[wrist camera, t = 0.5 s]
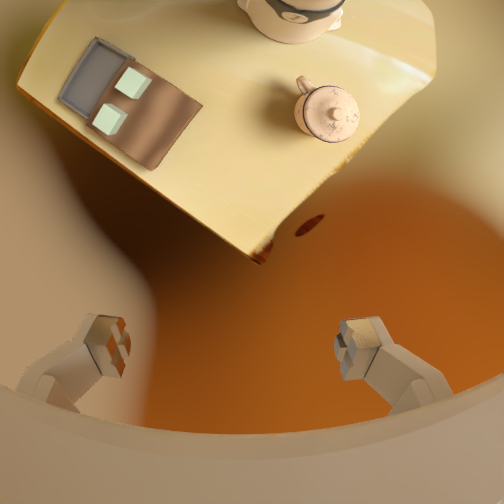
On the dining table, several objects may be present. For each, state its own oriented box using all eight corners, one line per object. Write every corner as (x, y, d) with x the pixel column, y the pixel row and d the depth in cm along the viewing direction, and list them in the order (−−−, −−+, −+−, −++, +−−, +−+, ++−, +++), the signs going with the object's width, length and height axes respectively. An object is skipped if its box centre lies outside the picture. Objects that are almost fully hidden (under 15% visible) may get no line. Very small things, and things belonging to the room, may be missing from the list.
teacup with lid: (349, 121, 45) (378, 125, 35) (311, 147, 47) (331, 156, 37) (313, 68, 40) (333, 56, 30) (272, 94, 42) (281, 87, 32)
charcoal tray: (136, 58, 37) (131, 56, 35) (95, 120, 42) (88, 121, 40) (101, 39, 34) (95, 36, 32) (63, 98, 39) (56, 98, 37)
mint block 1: (127, 114, 39) (121, 115, 36) (115, 133, 40) (108, 135, 38) (111, 103, 38) (104, 103, 35) (99, 122, 39) (91, 123, 36)
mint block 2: (152, 79, 37) (146, 77, 34) (138, 99, 38) (131, 98, 35) (135, 69, 35) (128, 66, 33) (121, 88, 37) (114, 87, 34)
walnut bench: (203, 105, 43) (200, 104, 39) (157, 167, 48) (151, 171, 44) (136, 61, 38) (128, 58, 34) (95, 123, 42) (85, 124, 39)
